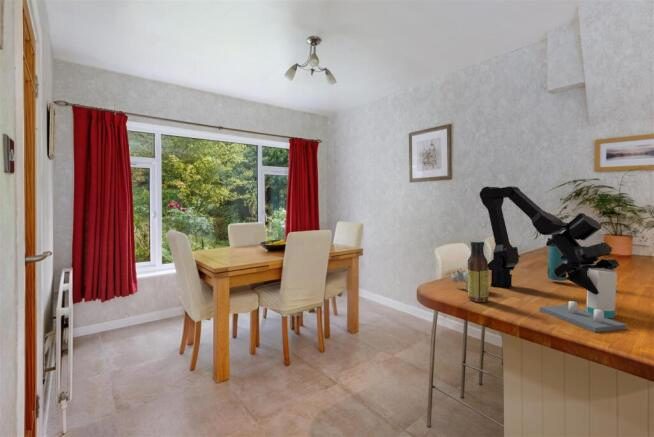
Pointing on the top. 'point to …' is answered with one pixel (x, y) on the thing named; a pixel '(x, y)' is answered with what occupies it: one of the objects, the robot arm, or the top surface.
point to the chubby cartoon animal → (460, 277)
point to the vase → (602, 291)
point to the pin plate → (583, 317)
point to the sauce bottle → (478, 273)
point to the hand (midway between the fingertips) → (606, 293)
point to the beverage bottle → (554, 262)
